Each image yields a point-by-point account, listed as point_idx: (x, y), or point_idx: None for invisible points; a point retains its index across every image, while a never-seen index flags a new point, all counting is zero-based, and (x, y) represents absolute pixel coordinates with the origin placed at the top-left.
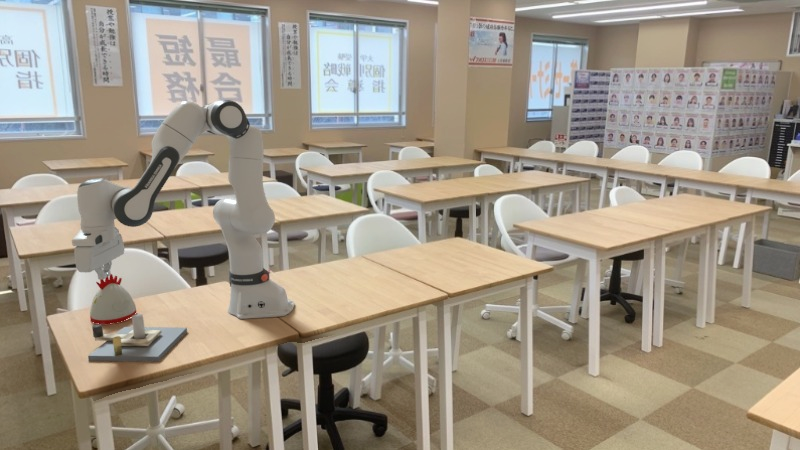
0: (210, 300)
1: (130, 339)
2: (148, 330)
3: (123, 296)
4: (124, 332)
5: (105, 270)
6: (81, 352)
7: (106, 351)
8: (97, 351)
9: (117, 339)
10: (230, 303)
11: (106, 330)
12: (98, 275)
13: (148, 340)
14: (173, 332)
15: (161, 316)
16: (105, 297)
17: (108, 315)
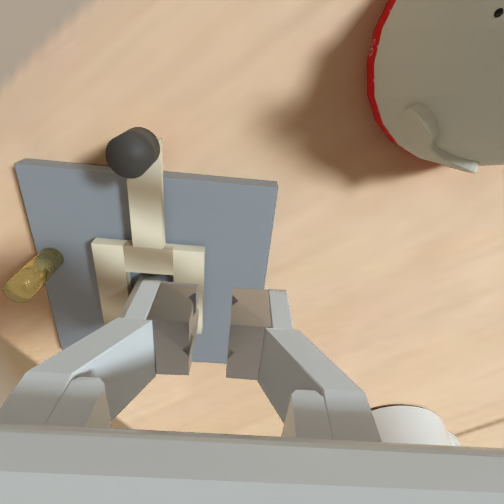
0: (500, 352)
1: (121, 275)
2: (198, 301)
3: (485, 153)
4: (222, 209)
5: (262, 350)
6: (81, 94)
7: (61, 213)
8: (53, 182)
9: (10, 297)
10: (385, 435)
11: (295, 99)
12: (129, 312)
13: None
14: (218, 345)
15: (399, 257)
16: (472, 60)
17: (384, 81)
